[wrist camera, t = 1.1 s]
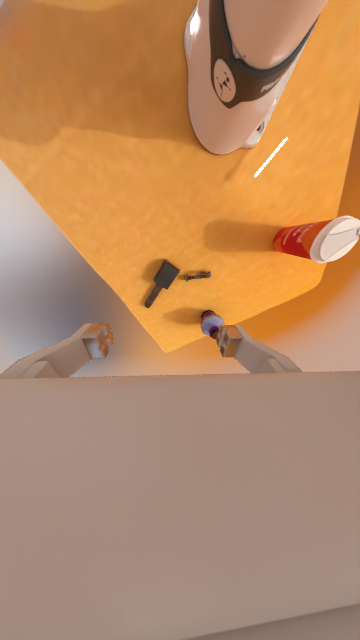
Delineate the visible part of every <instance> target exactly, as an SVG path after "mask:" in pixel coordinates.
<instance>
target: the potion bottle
mask: <svg viewBox="0 0 360 640" xmlns="http://www.w3.org/2000/svg"><path fill="white" fill-rule="evenodd" d="M201 318H202V321H201V329H202V332H203V334H206V335H209V336H210V337H212V338H213V339H216V338H217V334H218V333H219V332H220V331H219V327H220V325H224V321H223V319H222V318H221V317H220V316H218V315H216V314H215V313H214V312H213V311H210V310H208V311H205V312H203V314H202V315H201Z"/></svg>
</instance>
